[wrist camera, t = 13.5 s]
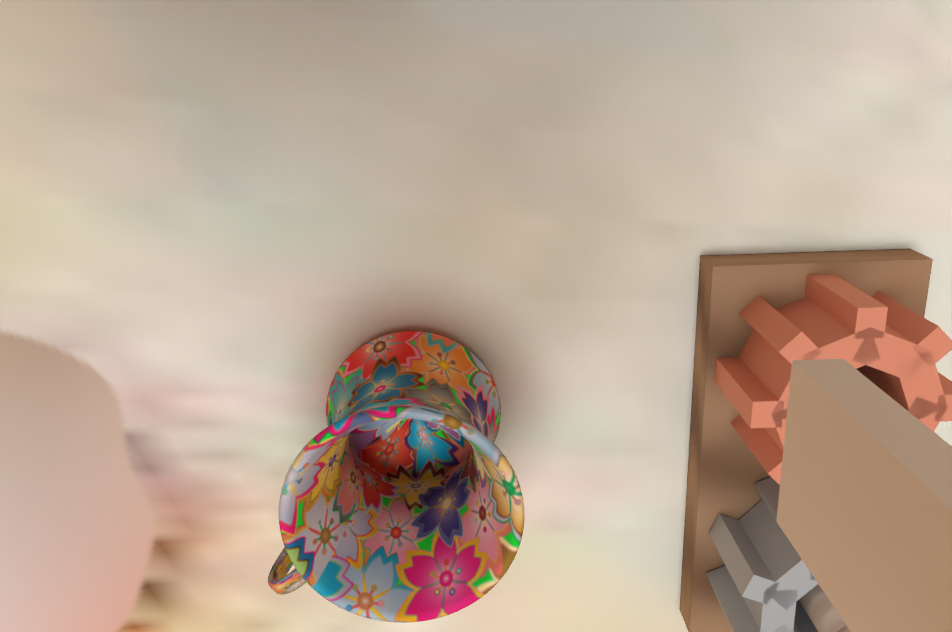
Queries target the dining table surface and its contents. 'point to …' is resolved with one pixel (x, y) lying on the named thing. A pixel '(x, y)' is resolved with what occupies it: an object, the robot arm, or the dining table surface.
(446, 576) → the mug
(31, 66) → the dining table surface
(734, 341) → the gear board
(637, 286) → the dining table surface
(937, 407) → the red gear
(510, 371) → the dining table surface
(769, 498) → the gear
